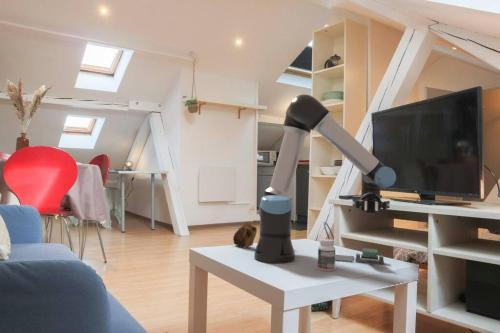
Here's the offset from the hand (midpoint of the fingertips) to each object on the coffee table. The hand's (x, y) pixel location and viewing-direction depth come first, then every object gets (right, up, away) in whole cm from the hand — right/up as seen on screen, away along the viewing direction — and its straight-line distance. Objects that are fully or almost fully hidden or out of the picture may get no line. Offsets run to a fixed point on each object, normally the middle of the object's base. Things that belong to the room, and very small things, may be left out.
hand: (371, 206), depth 123 cm
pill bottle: (-14, -22, +4) cm, 26 cm away
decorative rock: (-42, -22, +41) cm, 63 cm away
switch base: (+5, -23, +17) cm, 29 cm away
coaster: (-5, -23, +22) cm, 32 cm away
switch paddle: (+5, -21, +17) cm, 27 cm away
